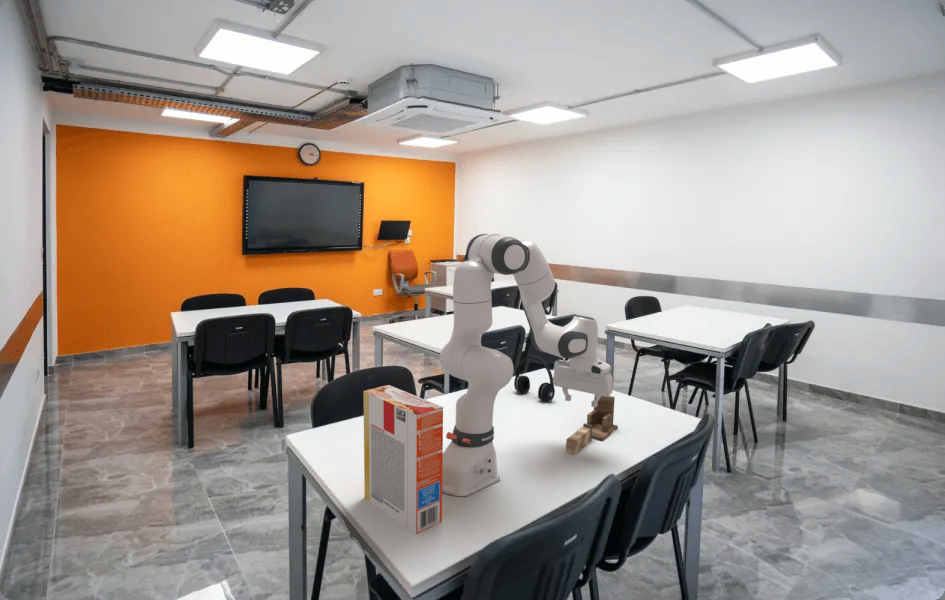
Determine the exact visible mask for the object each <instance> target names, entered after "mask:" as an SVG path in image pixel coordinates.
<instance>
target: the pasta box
mask: <svg viewBox="0 0 945 600" xmlns="http://www.w3.org/2000/svg"><path fill="white" fill-rule="evenodd" d="M443 436H444V406H442V405H440V404H437V403H435V402H431V401H429V400H427V399H424V398H422V397H420V396H417V395H414V394H412V393H409V392H408V391H405V390H402V389H399V387H398V388H397V387H395V386H393V385H390V384H387V385H383V386H378V387H375V388H371V389H370V388H369V389H367V390H363V455H364V456H363V458H364V459H363V460H364V461H363V464H364V465H363V466H364V467H363V470H364V471H363V473H364V474H363V475H364V477H363V478H364V498H365V499H366V500H368V501H369V502H370V503H372V504H374V505H375V506H376V507H377V508H379V509H380V510H382V511H383V512H384V513H386V514H387V515H388V516H390V517H391V518H393V519H394V520H395V521H397V522H398V523H400V524H401V525H403V526H404V527H405V528H407V529H408V530H410V532H412V533H414V534H416V535H418V534H420V533H422V532H424V531H425V530H428V529H430V528H432V527H434V526H436V525H438V524H440V523H442V522H441V521H443V520H442V519H443V492H442V464H443V453H444V450H443V449H444V447H443V446H444V445H443V444H444V443H443V442H444V437H443ZM439 522H440V523H439ZM437 523H438V524H437ZM435 524H436V525H435ZM433 525H434V526H433ZM431 526H432V527H431ZM429 527H430V528H429Z"/></svg>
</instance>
